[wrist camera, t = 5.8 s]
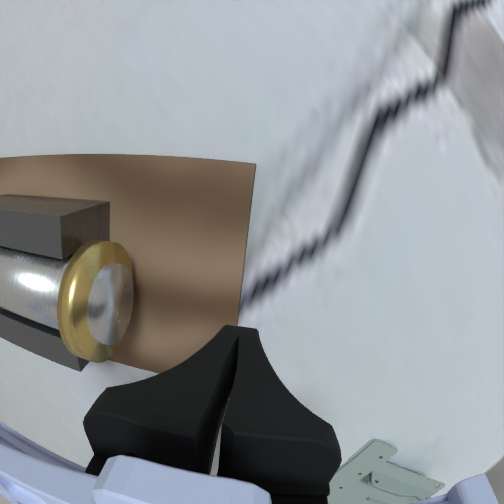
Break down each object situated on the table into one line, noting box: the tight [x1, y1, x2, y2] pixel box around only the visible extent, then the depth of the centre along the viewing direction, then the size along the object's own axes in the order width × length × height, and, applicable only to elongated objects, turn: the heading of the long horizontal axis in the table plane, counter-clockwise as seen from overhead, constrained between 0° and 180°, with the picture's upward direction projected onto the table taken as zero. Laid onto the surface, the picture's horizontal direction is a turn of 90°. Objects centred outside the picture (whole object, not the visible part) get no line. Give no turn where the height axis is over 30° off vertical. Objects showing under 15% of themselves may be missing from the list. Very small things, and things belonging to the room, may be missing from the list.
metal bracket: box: [327, 439, 445, 504], centre depth 23 cm, size 14×6×15 cm
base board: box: [0, 154, 256, 373], centre depth 18 cm, size 14×24×1 cm, turn 83°
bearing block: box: [0, 194, 110, 372], centre depth 15 cm, size 9×10×5 cm
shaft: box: [0, 240, 134, 363], centre depth 14 cm, size 6×16×6 cm, turn 84°
